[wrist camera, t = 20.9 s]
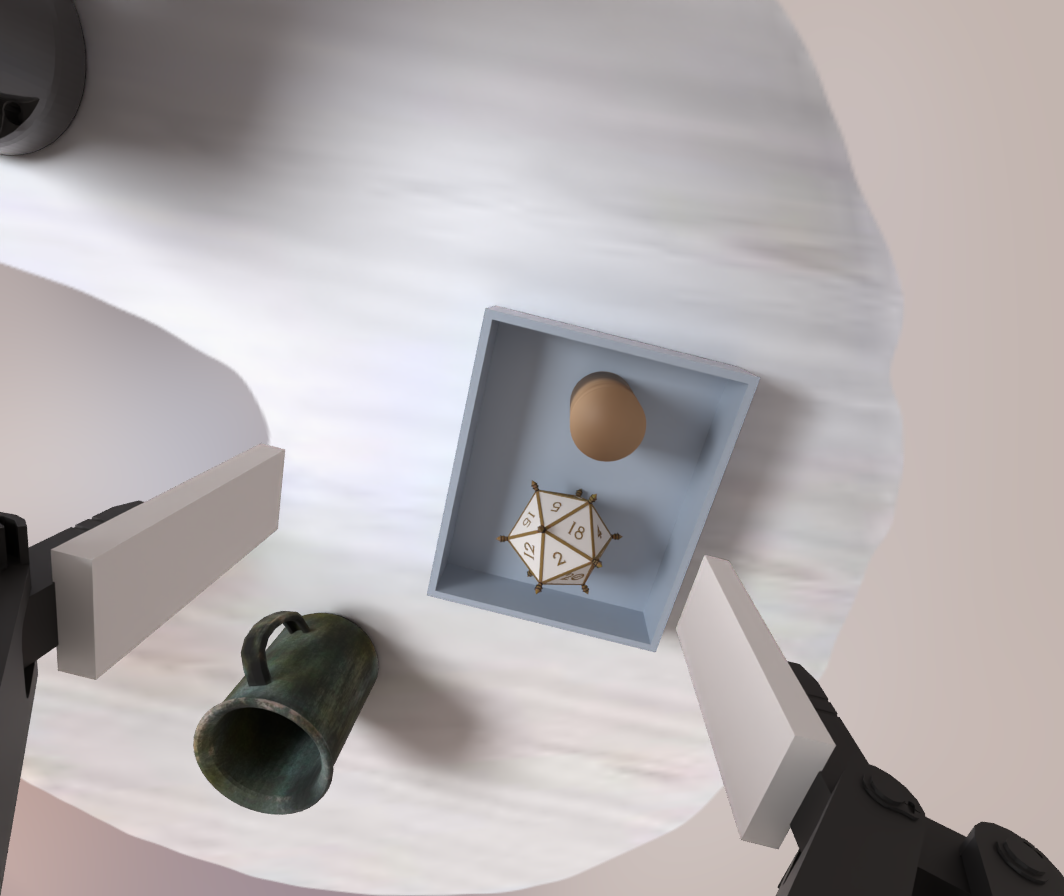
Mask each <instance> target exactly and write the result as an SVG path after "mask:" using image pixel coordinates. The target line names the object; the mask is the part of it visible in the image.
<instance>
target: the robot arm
mask: <svg viewBox="0 0 1064 896" xmlns="http://www.w3.org/2000/svg"><path fill="white" fill-rule="evenodd" d="M85 72H86V58H85V46H84V39H83V34H82V29H81V25H80V21H79V18H78V15H77V11H76V9H75V6H74V3H73V1H72V0H0V154H4V155H20V154H27V153H31V152H34V151H37V150H40V149H42V148H44V147H46V146H47V145H49V144H51V143H52V142H53V141H55V140H56V139H57V138H58V137H59V136H60V135H61V134H62V133H63V132H64V131H65V130H66V128H67V127H68V126H69V124H70V123H71V121H72V119H73V118H74V116H75V114H76V112H77V109H78V107H79V104H80V101H81V98H82V94H83V89H84V83H85ZM284 456H285V449H281V448H277V447H273V446H269V445H265V444H259V445H256V446H254V447H252V448H251V449H249V450H247V451H245V452H243V453H241V454H239V455H237V456H235V457H233V458H231V459H229V460H227V461H225V462H223V463H221V464H219V465H217V466H215V467H213V468H211V469H209V470H207V471H205V472H203V473H201V474H199V475H197V476H195V477H194V478H191V479H189V480H187V481H185V482H183V483H181V484H180V485H178V486H175V487H174V488H172V489H170V490H168V491H166V492H164V493H162V494H160V495H158V496H156V497H154V498H152V499H150V500H148V501H146V502H142V501H135V502H131V503H127V504H123V505H119V506H115V507H112V508H110V509H108V510H106V511H104V512H102V513H100V514H97V515H95V516H93V517H92V519H87V520H85V521H83V522H81V523H79V524H77V525H75V527H74V528H72V527H70V528H69V529H66V530H64V531H62V532H60V533H58V534H56V535H54V536H52V537H50V538H48V539H46V540H44V541H42V542H40V543H37V544H35V545H33V546H31V547H29V548H28V536H27V525H26V522H25V520H24V519H23V518H21V517H19V516H17V515H14V514H8V513H3V512H0V894H1V888H2V883H3V877H4V871H5V865H6V859H7V853H8V847H9V841H10V836H11V829H12V823H13V817H14V812H15V806H16V800H17V794H18V788H19V782H20V777H21V771H22V765H23V759H24V753H25V747H26V741H27V736H28V730H29V724H30V718H31V712H32V706H33V700H34V694H35V689H36V683H37V677H38V668H37V660H38V659H39V658H40V657H42V656H43V655H45V654H46V653H48V652H49V651H50V650H52V649H53V648H55V647H56V646H57V662H58V671H62V672H66V673H70V674H74V675H78V676H82V677H86V678H90V679H94V680H96V679H98V678H99V677H100V676H101V675H102V674H104V673H105V672H106V671H107V670H108V669H110V668H111V667H112V666H113V665H114V664H116V663H117V662H118V661H119V660H120V659H122V658H123V657H124V656H125V655H127V654H128V653H129V652H130V651H131V650H133V649H134V648H135V647H136V646H137V645H139V644H140V643H141V642H142V641H143V640H145V639H146V638H147V637H148V636H149V635H151V634H152V633H153V632H154V631H155V630H157V629H158V628H159V627H160V626H161V625H163V624H164V623H165V622H166V621H168V620H169V619H170V618H171V617H172V616H174V615H175V614H176V613H177V612H178V611H180V610H181V609H182V608H183V607H184V606H186V605H187V604H188V603H189V602H190V601H192V600H193V599H194V598H195V597H196V596H198V595H199V594H200V593H201V592H202V591H204V590H205V589H206V588H207V587H208V586H210V585H211V584H212V583H213V582H215V581H216V580H217V579H218V578H219V577H221V576H222V575H223V574H224V573H225V572H227V571H228V570H229V569H230V568H231V567H233V566H234V565H235V564H236V563H237V562H239V561H240V560H241V559H242V558H243V557H245V556H246V555H247V554H248V553H249V552H251V551H252V550H253V549H254V548H256V547H257V546H258V545H259V544H260V543H262V542H263V541H264V540H265V539H266V538H268V537H269V536H270V535H271V534H272V533H274V532H275V531H276V530H277V529H278V520H279V510H280V499H281V488H282V478H283V467H284ZM676 631H677V634H678V638H679V641H680V644H681V647H682V651H683V654H684V657H685V660H686V663H687V667H688V670H689V673H690V676H691V680H692V683H693V686H694V689H695V693H696V696H697V699H698V702H699V706H700V709H701V712H702V715H703V719H704V722H705V725H706V728H707V732H708V735H709V738H710V741H711V745H712V748H713V751H714V754H715V758H716V761H717V764H718V767H719V771H720V774H721V777H722V780H723V784H724V787H725V790H726V793H727V796H728V800H729V803H730V806H731V809H732V813H733V816H734V819H735V822H736V826H737V829H738V832H739V835H740V839H741V840H743V841H747V842H751V843H755V844H759V845H763V846H767V847H771V848H775V849H779V847H780V845H781V844H782V842H783V840H784V838H785V836H786V835H787V833H788V831H789V829H790V827H791V829H792V832H793V834H794V837H795V839H796V842H797V844H798V847H799V850H798V852H797V854H796V855H795V857H794V859H793V861H792V863H791V864H790V866H789V868H788V869H787V871H786V873H785V875H784V876H783V878H782V880H781V882H780V884H779V885H778V888H779V890H778V892H777V894H776V896H1064V877H1063V875H1062V874H1061V873H1060V872H1059V870H1057V868H1056V867H1055V866H1054V865H1053V864H1052V863H1051V862H1050V861H1049V860H1048V858H1047V857H1046V856H1045V855H1044V854H1043V853H1042V852H1041V851H1039V850H1038V849H1037V848H1035V847H1034V846H1033V845H1032V844H1031V843H1029V842H1028V841H1027V840H1025V839H1023V838H1021V837H1019V836H1018V835H1017V834H1015V833H1013V832H1012V831H1010V830H1008V829H1006V828H1003V827H1001V826H999V825H996V824H994V823H988V822H980V823H978V824H977V825H975V826H974V828H973V829H972V830H971V832H970V833H969V835H968V836H967V837H965V836H963V835H961V834H959V833H957V832H955V831H953V830H951V829H949V828H947V827H945V826H943V825H941V824H939V823H937V822H935V821H933V820H931V819H929V818H927V817H925V813H924V811H923V809H922V807H921V806H920V804H919V802H918V801H917V799H916V798H915V797H914V796H913V795H912V794H911V793H910V792H909V790H908V789H907V788H906V787H905V786H904V785H902V784H901V783H900V782H899V781H897V780H896V779H895V778H894V777H892V776H891V775H890V774H888V773H886V772H884V771H883V770H881V769H879V768H877V767H876V766H872V765H870V764H869V763H868V762H867V760H866V759H865V757H864V755H863V754H862V752H861V751H860V749H859V747H858V746H857V744H856V743H855V741H854V739H853V738H852V736H851V735H850V733H849V731H848V730H847V728H846V727H845V725H844V723H843V722H842V720H841V719H840V717H837V712H836V711H835V709H834V707H833V706H832V704H831V703H830V702H828V698H827V696H826V695H825V693H824V691H823V690H822V688H821V687H820V685H819V683H818V682H817V681H816V680H815V679H814V678H813V677H812V676H811V675H810V674H809V673H808V672H807V671H806V670H805V669H804V668H803V667H802V666H801V665H800V664H797V663H793V662H789V661H787V660H786V658H785V657H784V655H783V653H782V651H781V650H780V648H779V646H778V645H777V643H776V641H775V639H774V638H773V636H772V634H771V632H770V631H769V629H768V627H767V626H766V624H765V622H764V620H763V619H762V617H761V615H760V613H759V612H758V610H757V608H756V607H755V605H754V603H753V601H752V600H751V598H750V596H749V594H748V593H747V591H746V589H745V588H744V586H743V584H742V582H741V581H740V579H739V577H738V575H737V574H736V572H735V570H734V569H733V567H732V565H731V563H730V562H729V561H728V560H724V559H720V558H716V557H712V556H708V555H704V558H703V560H702V563H701V565H700V568H699V570H698V573H697V576H696V578H695V581H694V583H693V586H692V588H691V591H690V593H689V596H688V599H687V601H686V604H685V606H684V609H683V611H682V614H681V617H680V619H679V622H678V624H677V627H676Z"/></svg>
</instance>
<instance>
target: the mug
mask: <svg viewBox="0 0 1064 896" xmlns="http://www.w3.org/2000/svg"><path fill="white" fill-rule="evenodd" d="M282 623H283V625H284V626H285V628H284V629H283V631H282V632H281V633H280V634H279V635H278V637H277V638H276V639H275V640H274V641H273V643H272V644H271V645H270V646H269V647H268V649H267V650H266V651H265V649H266V645H267V642H268V638H269V637H270V635H271V634H272V633H273V631H274V630H275V628H277V627H278V626H279V625H281V624H282ZM241 657H242V664H243V670H244V673H245V676H244V677H243V679H242V680H241V681H240V682H239V683H238V685H237V686H236V687H235V688H234V689H233V691H232V692H231V693H230V694H229V695H228V697H227V698H226V699H225V700H224V701H223V702H222V703H220V704H218V705H216V706H214V707H213V708H212V709H210V710H209V711H208V712H207V713H206V714H205V715H204V716H203V717H202V719H201V720H200V722H199V724H198V726H197V728H196V731H195V735H194V744H193V747H194V753H195V757H196V760H197V763H198V765H199V767H200V769H201V771H202V773H203V774H204V776H205V777H206V778H207V780H208V781H209V782H210V783H211V784H212V785H213V786H214V788H215V789H217V790H218V791H219V792H220V793H221V794H222V795H224V796H225V797H227V798H228V799H230V800H231V801H233V802H235V803H237V804H239V805H240V806H243V807H245V808H248V809H250V810H254V811H257V812H261V813H267V814H281V815H283V814H292V813H296V812H300V811H303V810H305V809H308V808H310V807H311V806H313V805H314V804H316V803H317V802H318V801H319V800H320V799H321V798H322V797H323V796H324V795H325V793H326V792H327V790H328V789H329V787H330V784H331V781H332V776H333V766H334V764H335V762H336V760H337V758H338V756H339V754H340V752H341V750H342V748H343V746H344V744H345V742H346V740H347V738H348V736H349V734H350V732H351V730H352V728H353V726H354V723H355V721H356V719H357V717H358V715H359V713H360V711H361V709H362V707H363V705H364V703H365V701H366V699H367V697H368V695H369V693H370V691H371V689H372V687H373V685H374V683H375V680H376V678H377V674H378V659H377V654H376V651H375V648H374V646H373V644H372V642H371V640H370V639H369V637H368V636H367V635H366V633H365V632H364V631H363V630H362V629H361V628H360V627H358V626H357V625H356V624H354V623H353V622H351V621H349V620H348V619H346V618H343V617H341V616H338V615H334V614H328V613H314V614H308V615H304V616H301V615H300V614H299V613H298V612H290V611H281V612H276V613H273V614H271V615H268V616H266V617H264V618H263V619H261V620H260V621H259V622H258V623H256V624H255V625H254V626H253V627H252V629H251V630H250V632H249V633H248V635H247V636H246V637H245V639H244V643H243V646H242V650H241Z"/></svg>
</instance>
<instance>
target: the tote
mask: <svg viewBox="0 0 1064 896" xmlns="http://www.w3.org/2000/svg"><path fill="white" fill-rule="evenodd" d="M599 371H607V372H612V373H615V374H617V375H619V376H620V377H622V378H623V379H624V380H625V381H626V382H627V383H628V385H629V386H630V388H631V389H632V391H633V393H634V394H635V396H636V398H637V400H638V401H639V403H640V405H641V406H642V408H643V410H644V413H645V417H646V432H645V435H644V438H643V440H642V442H641V444H640V445H639V446H638V448H637V449H636V450H635V451H634V452H633V453H631V454H630V455H628V456H627V457H625V458H623V459H620V460H617V461H610V462H604V461H597V460H594V459H592V458H590V457H588V456H586V455H585V454H583V453H582V452H581V451H580V450H579V449H578V448H577V446H576V445H575V443H574V441H573V439H572V436H571V432H570V398H571V394H572V391H573V389H574V387H575V386H576V384H577V383H578V382H579V381H580V380H581V379H582V378H583V377H585V376H587V375H589V374H591V373H594V372H599ZM759 380H760V377H758V376H756V375H754V374H752V373H750V372H748V371H745V370H743V369H741V368H739V367H737V366H733V365H729V364H725V363H721V362H717V361H713V360H709V359H705V358H701V357H697V356H693V355H689V354H685V353H681V352H677V351H673V350H669V349H665V348H661V347H657V346H653V345H649V344H645V343H642V342H638V341H634V340H630V339H626V338H622V337H618V336H614V335H610V334H606V333H602V332H598V331H594V330H590V329H586V328H582V327H578V326H574V325H570V324H566V323H562V322H558V321H554V320H550V319H546V318H543V317H539V316H535V315H531V314H527V313H523V312H519V311H515V310H511V309H507V308H503V307H499V306H492V307H488V308H485V313H484V318H483V323H482V327H481V332H480V337H479V342H478V347H477V352H476V357H475V362H474V367H473V371H472V376H471V381H470V386H469V391H468V396H467V401H466V406H465V411H464V415H463V420H462V425H461V430H460V435H459V440H458V445H457V450H456V455H455V459H454V464H453V469H452V474H451V479H450V484H449V489H448V494H447V499H446V503H445V508H444V513H443V518H442V523H441V528H440V533H439V538H438V543H437V547H436V552H435V557H434V562H433V567H432V572H431V577H430V582H429V586H428V591H427V595H428V596H432V597H436V598H440V599H444V600H448V601H452V602H456V603H460V604H464V605H468V606H472V607H476V608H480V609H484V610H488V611H492V612H496V613H500V614H504V615H508V616H512V617H516V618H520V619H524V620H528V621H532V622H536V623H540V624H544V625H548V626H552V627H556V628H560V629H564V630H568V631H572V632H576V633H580V634H584V635H588V636H592V637H596V638H600V639H604V640H608V641H612V642H616V643H620V644H624V645H628V646H632V647H636V648H640V649H644V650H648V651H652V652H656V650H657V647H658V645H659V642H660V639H661V637H662V634H663V631H664V629H665V626H666V624H667V621H668V618H669V616H670V613H671V611H672V608H673V605H674V603H675V600H676V597H677V595H678V592H679V590H680V587H681V584H682V582H683V579H684V576H685V574H686V571H687V569H688V566H689V563H690V561H691V558H692V556H693V553H694V550H695V548H696V545H697V542H698V540H699V537H700V535H701V532H702V529H703V527H704V524H705V522H706V519H707V516H708V514H709V511H710V508H711V506H712V503H713V501H714V498H715V495H716V493H717V490H718V488H719V485H720V482H721V480H722V477H723V474H724V472H725V469H726V467H727V464H728V461H729V459H730V456H731V454H732V451H733V448H734V446H735V443H736V440H737V438H738V435H739V433H740V430H741V427H742V425H743V422H744V420H745V417H746V414H747V412H748V409H749V406H750V404H751V401H752V399H753V396H754V393H755V391H756V388H757V386H758V383H759ZM532 480H533V481H534V482H536V483H537V485H539V486H538V488H539V490H545V491H551V492H557V493H564V494H570V495H576V492H577V491H576V490H579V489H582V492H583V493H582V495H581V497H582V498H584V499H587V500H589V497H590V496H591V495H592V494H597V500H595V502H593V503H592V504H593V506H594V507H595V509H596V510H597V512H598V514H599V515H600V517H601V519H602V520H603V522H604V523H605V525H606V527H607V528H608V530H609V531H610V533H611V534H614V533H615V534H617V533H618V534H620V535H621V536H623V537H622V538H620V539H619V540H617V539H616V540H614V539H611V541H610V543H609V544H608V546H607V548H606V549H605V551H604V553H603V554H602V556H601V558H600V559H599V560H600V561H602V567H600V568H597V567H595V568H594V569H593V571H592V573H591V574H590V576H589V578H588V579H587V581H586V583H585V585H587V586H588V588H589V593H588V594H586V593H585V592H583V590H582V589H581V588H582V586H581V585H542V588H543V589H542V590H541V591H542V592H539V593H538V594H536V593H535V590H534V589H535V587H536V585H537V584H538V582H537V580H536V579H535V578H534V576H532V577H527V571H529V569H528V568H527V567H526V565H525V564H524V562H523V561H522V560H521V558H520V557H519V556H518V554H517V553H516V552H515V550H514V549H513V547H512V546H511V545H510V543H509V542H508V541H505V542H500V541H498V540H497V539H496V538H498V537H499V536H500V535H501V536H503V535H504V536H508V535H509V533H510V532H511V530H512V529H513V527H514V525H515V524H516V522H517V520H518V519H519V517H520V515H521V514H522V512H523V511H524V509H525V507H526V506H527V504H528V502H529V501H530V499H531V497H532V496H533V494H534V493H535V490H534V489H532V488H533V487H532V486H531V484H532Z"/></svg>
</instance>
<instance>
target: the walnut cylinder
mask: <svg viewBox="0 0 1064 896" xmlns="http://www.w3.org/2000/svg"><path fill="white" fill-rule="evenodd" d="M570 432H571V436H572V439H573V441H574V443H575V445H576V446H577V448H578V449H579V450H580V451H581V452H582V453H583V454H585V455H586V456H588V457H590V458H592V459H594V460H597V461H604V462H610V461H617V460H620V459H623V458H625V457H627V456H628V455H630V454H631V453H633V452H634V451H635V450H636V449H637V448H638V446H639V445H640V444H641V442H642V440H643V438H644V435H645V432H646V417H645V413H644V410H643V408H642V406H641V405H640V403H639V401H638V400H637V398H636V396H635V394H634V393H633V391H632V389H631V388H630V386H629V385H628V383H627V382H626V381H625V380H624V379H623V378H622V377H620V376H619V375H617V374H615V373H612V372H607V371H599V372H594V373H591V374H589V375H587V376H585V377H583V378H582V379H581V380H580V381H579V382H578V383H577V384H576V386H575V387H574V389H573V391H572V394H571V398H570Z"/></svg>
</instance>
